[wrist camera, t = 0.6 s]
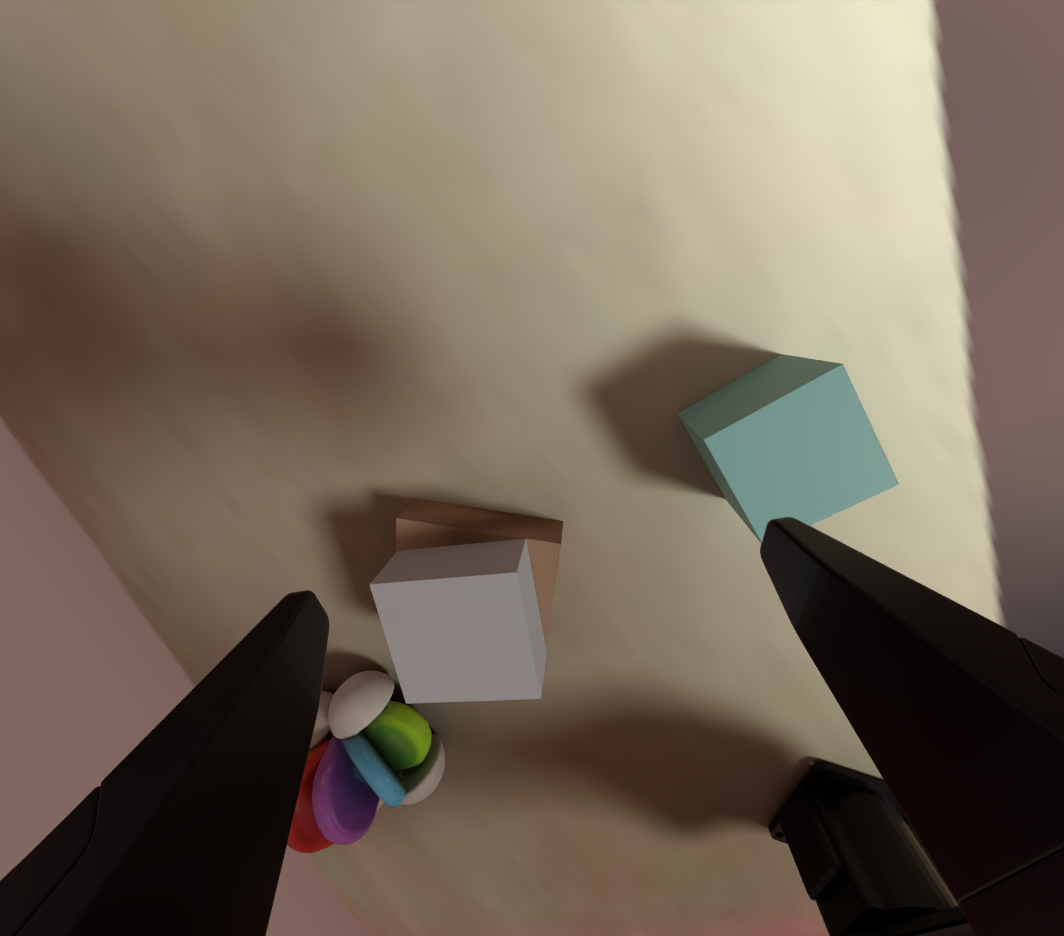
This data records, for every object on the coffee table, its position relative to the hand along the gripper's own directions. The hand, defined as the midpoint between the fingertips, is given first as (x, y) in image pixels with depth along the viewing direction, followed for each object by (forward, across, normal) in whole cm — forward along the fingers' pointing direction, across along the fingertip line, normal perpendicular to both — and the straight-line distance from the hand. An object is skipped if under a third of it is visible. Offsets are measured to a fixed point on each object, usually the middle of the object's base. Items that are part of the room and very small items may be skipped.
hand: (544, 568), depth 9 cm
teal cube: (+11, -11, +5) cm, 16 cm away
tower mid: (+9, +4, +11) cm, 15 cm away
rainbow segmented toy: (+10, +12, +22) cm, 27 cm away
